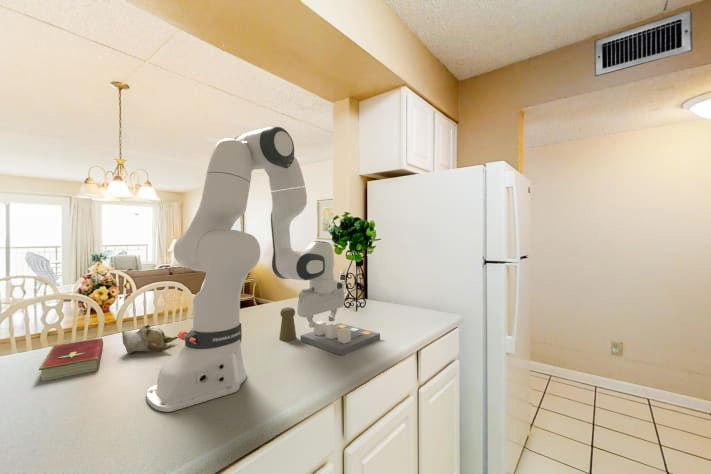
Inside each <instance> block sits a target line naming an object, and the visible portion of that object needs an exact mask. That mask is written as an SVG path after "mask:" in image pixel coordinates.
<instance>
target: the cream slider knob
mask: <svg viewBox="0 0 711 474" xmlns="http://www.w3.org/2000/svg"><path fill="white" fill-rule="evenodd" d="M350 341H351V329H348V328H345V327H344V328H341V329H338V342H341V343H344V344H345V343H347V342H350Z"/></svg>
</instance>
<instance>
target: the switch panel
mask: <svg viewBox="0 0 711 474" xmlns="http://www.w3.org/2000/svg"><path fill="white" fill-rule="evenodd" d="M335 325H337V326H338V329H341V328H344V327H345V328H348V329H351V341H350V342H347V343H345V344H344V343H341V342H338V337H337V338H334V339H329V338H325V334H323V335H320V336H319V335H316V334H314V330H313V331H310V332H308V333H304V334H302V335H300V342H302V343H304V344H307V345H311V346H313V347H315V348H319V349H322V350H325V351H328V352H330V353H333V354H336V355H340V356H345V355H347V354H349V353H351V352H354V351H355V350H358V349H360V348H363V347H365V346H367V345H370V344H372V343H375V342H377V341H379V340H381V333H379V332H375V331H372V330H367V329H363V328H360V327H356V326H352V325H348V324H346V323H341V322H340V323H337V324H335Z"/></svg>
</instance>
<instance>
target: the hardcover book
mask: <svg viewBox="0 0 711 474" xmlns="http://www.w3.org/2000/svg"><path fill="white" fill-rule="evenodd" d="M103 348H104V339H103V338H102V337H98V338H90V339H85V340H77V341H72V342H67V343H59V344H53V346H52V347H51V349H50V351H49V352H48V354H47V355H46V357H45V359H44V360H43V362H42V363H41V365H40V366H39V368H38V371H41V374H40V375H41V377H40V378H41V382H44V381H45V382H46V381H51V380H54V379H59V378H65V377H69V376H70V377H71V376H73V375H74V376H75V375H79V374H84V373H90V372H94V371H99V369H100V363H101V358H102V353H103V350H104V349H103Z"/></svg>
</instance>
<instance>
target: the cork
mask: <svg viewBox="0 0 711 474" xmlns="http://www.w3.org/2000/svg"><path fill="white" fill-rule="evenodd" d="M279 314H280V317H281V323H280V331H279V340H280V341H283V342H291V341H294V340H296V339H297V333H296V326H295V318H294V317H295V315H296V310H295V308H294V307H284V308H281V310H280V313H279Z"/></svg>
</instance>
